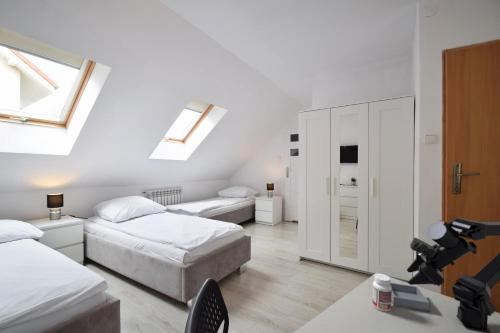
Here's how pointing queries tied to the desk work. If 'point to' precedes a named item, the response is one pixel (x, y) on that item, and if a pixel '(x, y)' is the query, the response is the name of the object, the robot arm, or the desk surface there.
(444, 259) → the robot arm
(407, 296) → the slate tray
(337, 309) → the desk surface
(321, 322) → the desk surface
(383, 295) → the pill bottle
